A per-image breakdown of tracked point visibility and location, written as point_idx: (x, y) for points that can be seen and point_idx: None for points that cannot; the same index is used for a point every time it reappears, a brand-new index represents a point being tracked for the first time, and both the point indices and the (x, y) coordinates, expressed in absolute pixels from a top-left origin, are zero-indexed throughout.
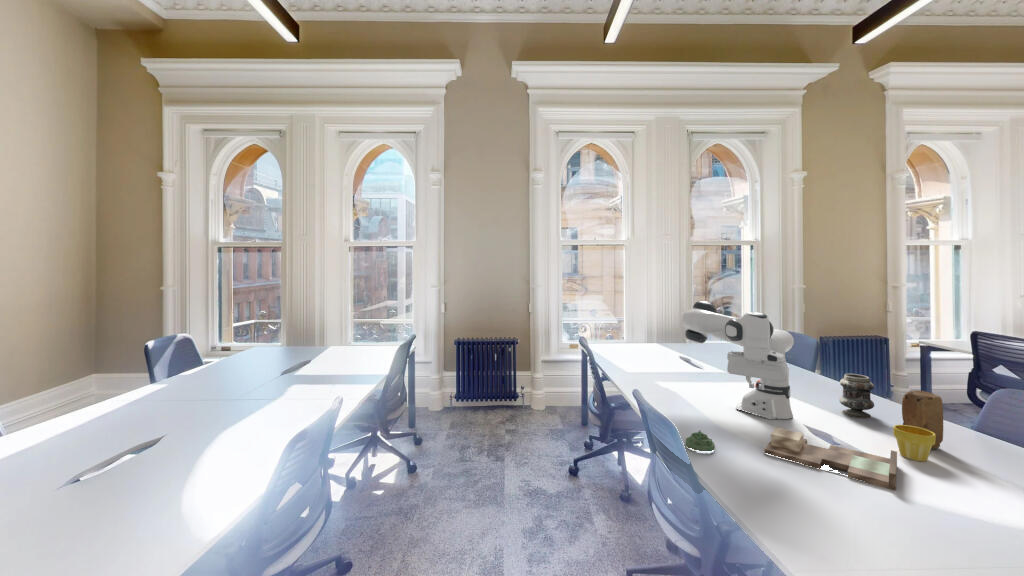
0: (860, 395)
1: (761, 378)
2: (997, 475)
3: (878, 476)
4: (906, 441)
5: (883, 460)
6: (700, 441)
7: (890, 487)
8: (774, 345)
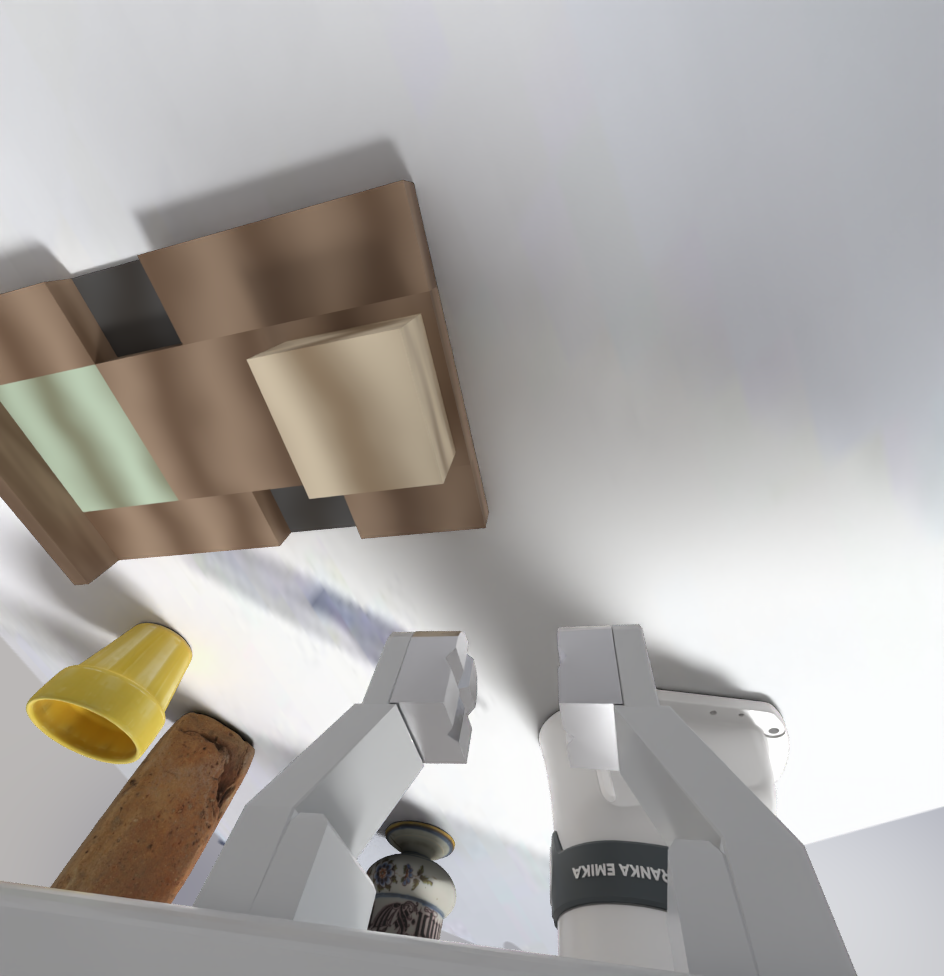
0: (376, 921)
1: (269, 920)
2: (37, 651)
3: None
4: (97, 667)
5: (112, 528)
6: None
7: None
8: None
